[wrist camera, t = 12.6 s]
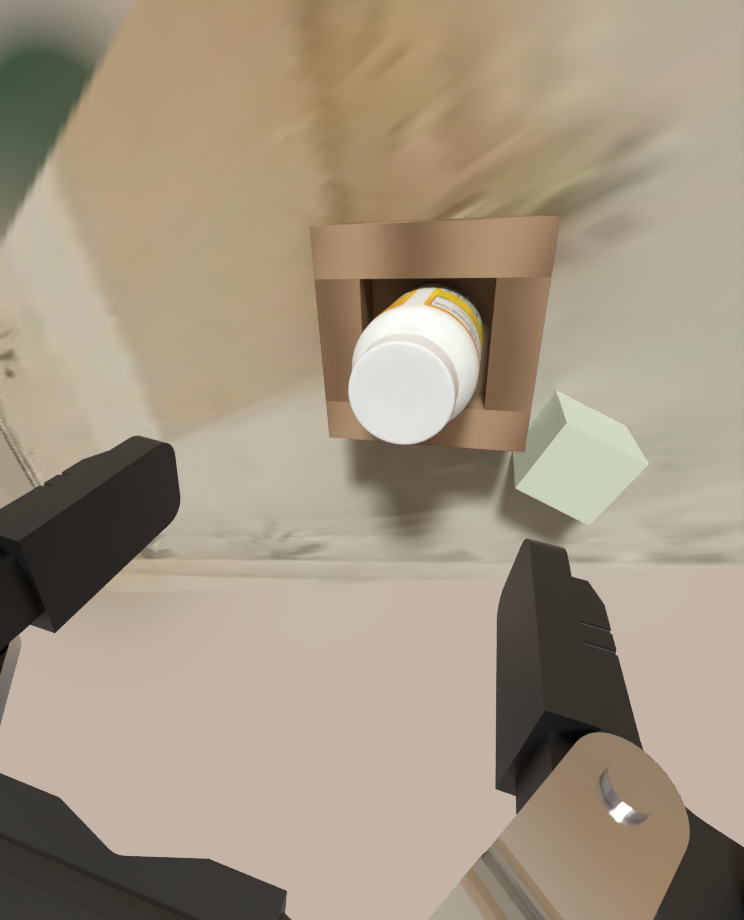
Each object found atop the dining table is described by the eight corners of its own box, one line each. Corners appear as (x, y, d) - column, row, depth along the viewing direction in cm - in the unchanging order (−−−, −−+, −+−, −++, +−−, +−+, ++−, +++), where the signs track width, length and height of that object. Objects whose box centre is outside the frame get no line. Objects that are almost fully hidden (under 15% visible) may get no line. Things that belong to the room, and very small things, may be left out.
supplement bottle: (486, 279, 22) (482, 319, 14) (480, 381, 25) (473, 465, 16) (382, 283, 23) (322, 322, 15) (387, 380, 26) (338, 457, 18)
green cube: (625, 425, 28) (648, 464, 24) (575, 482, 31) (588, 525, 26) (555, 390, 28) (566, 422, 24) (512, 449, 30) (515, 488, 26)
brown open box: (545, 215, 23) (560, 217, 18) (518, 406, 29) (524, 452, 23) (348, 223, 26) (309, 226, 20) (358, 397, 31) (329, 437, 26)
